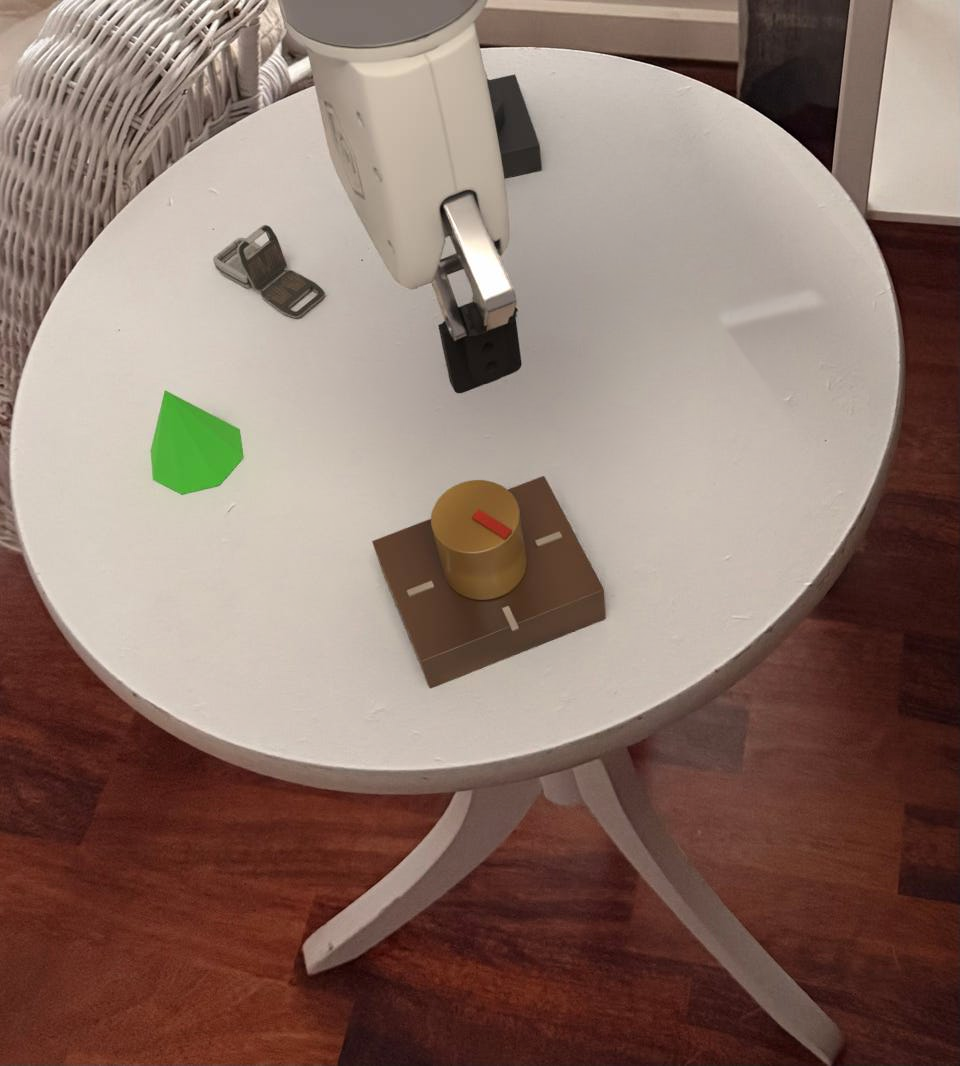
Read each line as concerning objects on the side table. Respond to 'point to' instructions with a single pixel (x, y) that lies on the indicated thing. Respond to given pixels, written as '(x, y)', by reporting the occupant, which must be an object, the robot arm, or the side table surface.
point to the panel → (501, 623)
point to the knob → (479, 539)
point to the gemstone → (192, 447)
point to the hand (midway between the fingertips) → (446, 306)
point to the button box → (514, 128)
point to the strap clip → (267, 272)
